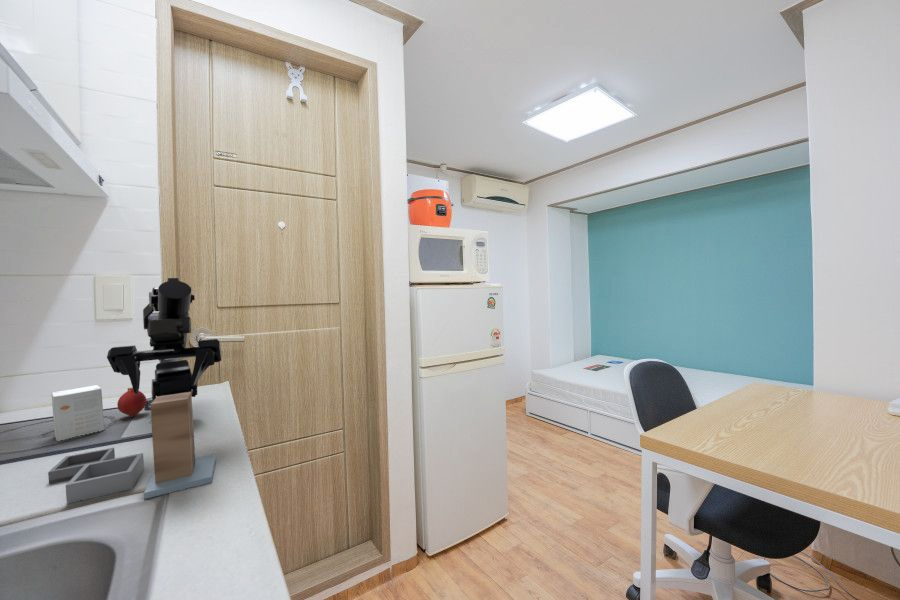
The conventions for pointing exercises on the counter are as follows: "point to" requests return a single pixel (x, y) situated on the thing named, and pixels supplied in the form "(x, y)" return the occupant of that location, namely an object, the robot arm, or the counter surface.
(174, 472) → the walnut block
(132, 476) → the sleeve
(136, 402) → the onion
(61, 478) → the tray
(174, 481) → the pad
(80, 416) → the small box
